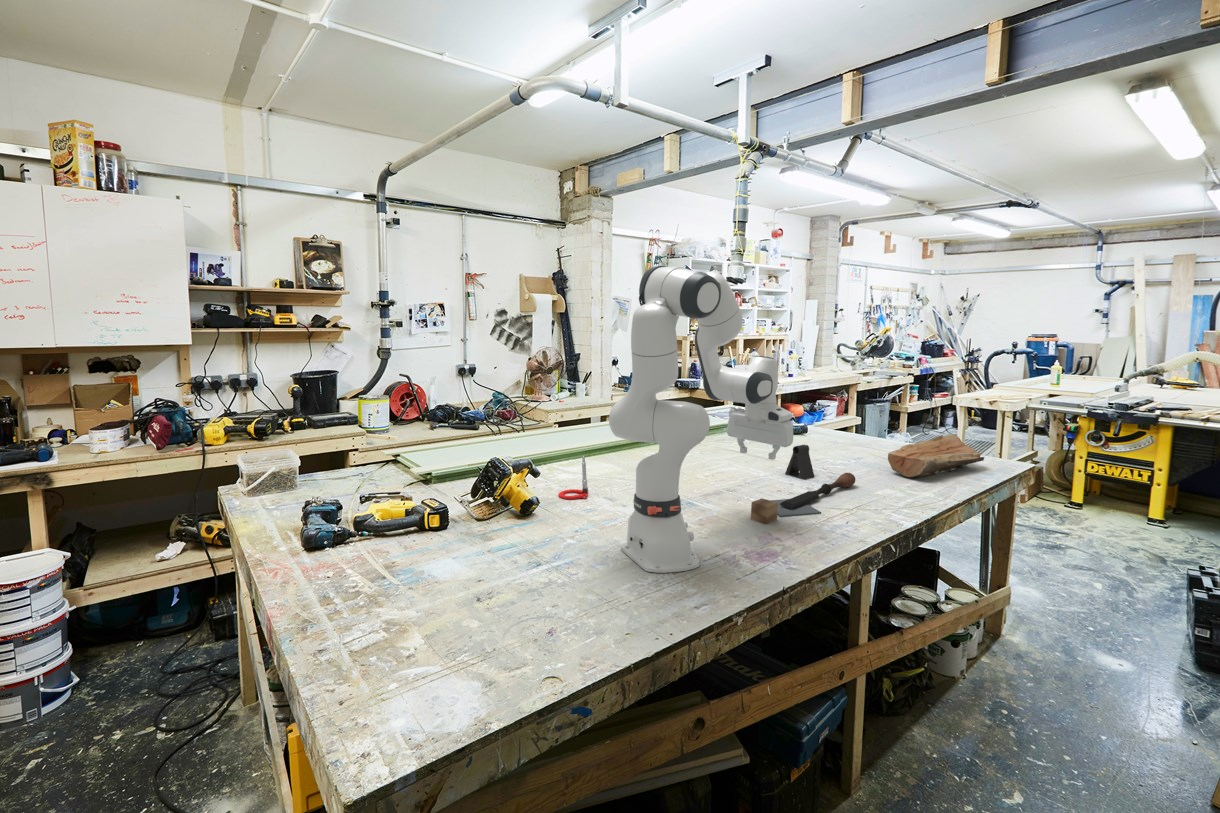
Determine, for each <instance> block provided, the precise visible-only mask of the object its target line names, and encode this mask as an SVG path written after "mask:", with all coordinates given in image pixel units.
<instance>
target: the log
mask: <svg viewBox="0 0 1220 813" xmlns="http://www.w3.org/2000/svg"><path fill="white" fill-rule="evenodd" d="M981 454H982V453H979V452H978V451H977V450H976V449H974V448H973V447H972V446H970V445H967V444H965V443H964V442H963V441H962V439H961V438H960V437H959V436H957V435H956V434H955V433H951V434H946V435H944V434H942V435H939V436H936V437H933V438H930V439H927V440H926V439H925V440H922V441H917V442H916V443H909V444H905V445H903V446H902V447H901V448H899V449H895V450H892V451H890V452H888V453H887V460H888V463H889V466H890V467H891V469H892V471H894V472H896V473H898V474H900V475H902V476H904V477H907V478H909V479H912V478H914V479H916V478H920V477H921V478H922V477H925V476H930V475H937V474H938V475H939V474H942V473H945V472H947V473H951V471H956V470H958V469H959V468H962V467H966V466H968V465H971V464H975V463H978V462H983V461H984V460H985V456H982V457H981Z"/></svg>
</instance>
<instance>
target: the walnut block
mask: <svg viewBox="0 0 1220 813" xmlns="http://www.w3.org/2000/svg"><path fill="white" fill-rule="evenodd" d="M750 506H751V508H750V509H751V510H750V520H752V521H754V522H758V523H761V524H764V525H768V524H769V525H770V524H771V523H774V522H776V521H777V520H778V515H777V509H778V502H774V501H770V500H769V499H766V498H762V497H761V498H759V499H756V500H754V501H752V502H751V505H750Z"/></svg>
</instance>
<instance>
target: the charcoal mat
mask: <svg viewBox="0 0 1220 813" xmlns="http://www.w3.org/2000/svg"><path fill="white" fill-rule="evenodd" d="M788 499H789V498H784V499H783V498H780V499H771V500H770V501H774V502H778V509H777V517H780V518H784V517H785V518H786V517H796V516H797V517H798V516H808V515H809V516H811V515H821V514H822V511H821V510H818V508H815V507H813V506H811V505H810V504H809V503H806V504H804V505H802V506H799V507H797V508H795V509H789V508H787V507H784V506H781V505H780V503H782V502H784V501H786V500H788Z"/></svg>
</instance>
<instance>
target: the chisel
mask: <svg viewBox="0 0 1220 813" xmlns="http://www.w3.org/2000/svg"><path fill="white" fill-rule="evenodd" d="M855 483H856V475H854V474H853V473H852V472H844V473H841V474H840V475H839V476H838V477H837V479H836V480H835V481H834V482H832V483H828V484H827V483H824V484H822V485H821V487H819V488H818V489H816V490H808V491H806V492H804V493H801V494H799V495H796V496H794V497H791V498H787V499H788V500H786V501H784V502H782V503H780V505H781V506H784V507H787V508H789V509H795V508H797V507H799V506H802V505H804V504H809V503H811V502H814V501H815V500H818V499H820V495H823V494H825V495H829V494H831V492H832V491H833V490H834V489H838V488H849V487H852V486H853V485H855Z"/></svg>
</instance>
